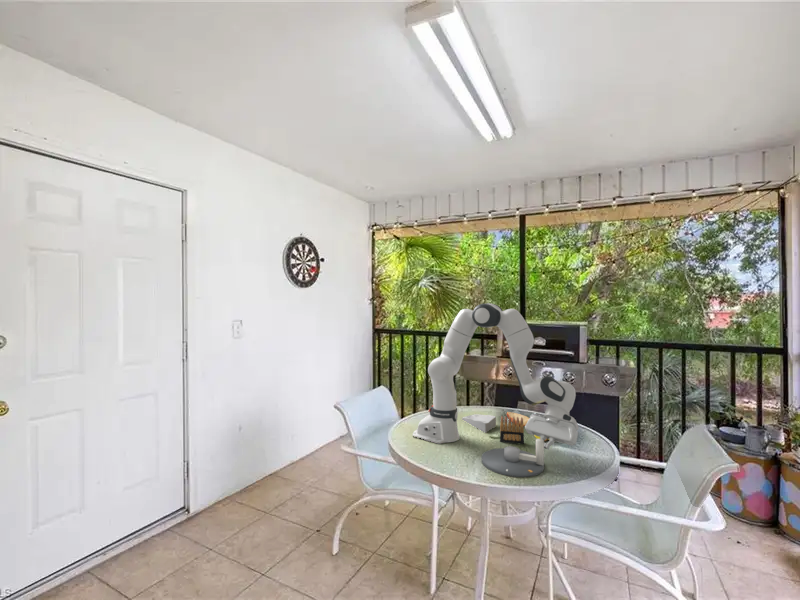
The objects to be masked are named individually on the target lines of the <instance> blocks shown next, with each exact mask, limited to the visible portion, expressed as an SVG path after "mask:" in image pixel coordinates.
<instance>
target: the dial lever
mask: <svg viewBox="0 0 800 600" xmlns="http://www.w3.org/2000/svg"><path fill="white" fill-rule="evenodd" d="M544 443H545V441H544V440H543V439H537V438H536V439H535V454H534V455H529V454H523V453H520V450H521V449H520V448H519V447H516V446H512V445H511V446H509V445H507V446H504V459H505V460H506V461H509V462H519V461H520V459H523V460H529V461H534V462H536V464H538V465H544V466H545V448H544ZM535 455H536V456H535Z"/></svg>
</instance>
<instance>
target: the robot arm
mask: <svg viewBox="0 0 800 600" xmlns="http://www.w3.org/2000/svg"><path fill="white" fill-rule="evenodd" d="M478 327H480V328H485V329H489V328H494V327H497V328H499V329H500V330H501V331H502V334H503V335H504V338H505V340H506V342H507V345H508V348H509V349H508V350H509V358H510V362H511V365H512V367H513V371H514V374H515V376H516V379H517V380H518V385H519V389H520V391H519V392H520V395H521V397H522V399H523V400H524V402H525V403H527V404H528V405H532V406H536V405H539V404H542V403H544V402H545V403H546V404H547V406H546V410H545V411H544V414H542V413H541V414H539V413H536V412H535V413H532V414H530V416H529V420H528V422H527V423H526V425H525V427H524V429H525V430H524V431H526V433H527V434H528V435H532V436H534V435H535V436H539V437H540V439H543V440H546V439H549V441H547V440H546V441H547V442H544V450H545V449H546V450H549V449H550V447H551V446H553V445H554V444H555V442H558V443H561V444H564V445H569V446H572V447H574V446H575V445H576V444H577V441H578V438H579V436H578V435H579V432H578V431H579V428H580V427H579V424H578V422H577V420H576V419H575V418H574V417H573V416H571V415H570V411H571V410H572V409H573V407H574V404H575V400H576V396H577V394H576V389H575V387H574V385H572V384H571V383H570V382H568V381H564V380H562V381H559V380H556V379H555V378H553V377H551V376H543V377H541V378H537V379H533V377H532V375H531V372H530V369H529V367H528V364H527V357H528V354H529V352H531V350H532V349H533V347H534V344H535V339H534V334H533V332H532V331H531V328H530V326H529V325H528V323H527V322H526V320H525V318H524V317H523V315H522V314H521V313H520V311H518V309H515V308H508V309H504V310H503V309H502V308H501V307H500V306H499V305H497V304H495V303H490V302H487V303H486V302H485V303H479V304H478V305H476V306H475V307H474V309H470V308H463V309H461V310H460V311H459V312H458V313H457V314H456V316H455V318H454V320H453V321H452V323H451V326H450V327H449V329H448V332H447V333H446V336H445V338H444V341H443V347H442V351H441V353H440V355H439V356H438V357H436V358H434V359H432V360H431V362H429V364H428V367H427V373H428V375H429V377H430V381H431V387H432V394H433V395H432V400H433V401H432V405H431V407H429V409H428V410H427V411H428V413H429V414H427V415H426V416H425V417H423V418H422V419H421V420H420V421H419V422H418V425H417V429H415V430H414V431H413V432H412V437H413V436H415V437H418V438H417V439H419V438H421V439H420V440H423V439H424V440H423V441H427V442H430V441H431V442H432V443H435V444H440V445H441V444H444V443H453V442H457V441H458V440H460V439H461V437H460V433H459V429H458V421H457V420H458V407H457V391H456V387H455V383H454V376H455V375H457V374H458V372H459V371H460V368H461V365H462V363H463V360H464V357H465V353H466V350H467V348H468V347H469V344H470V342H471V340H472V338H473V336H474V333H475V331H476V330H477V328H478ZM535 436H534V437H535ZM415 437H414V438H415ZM431 442H430V443H431Z"/></svg>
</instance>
